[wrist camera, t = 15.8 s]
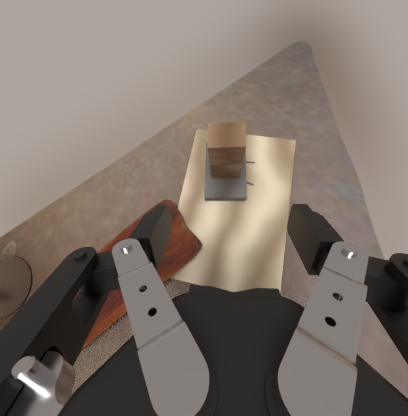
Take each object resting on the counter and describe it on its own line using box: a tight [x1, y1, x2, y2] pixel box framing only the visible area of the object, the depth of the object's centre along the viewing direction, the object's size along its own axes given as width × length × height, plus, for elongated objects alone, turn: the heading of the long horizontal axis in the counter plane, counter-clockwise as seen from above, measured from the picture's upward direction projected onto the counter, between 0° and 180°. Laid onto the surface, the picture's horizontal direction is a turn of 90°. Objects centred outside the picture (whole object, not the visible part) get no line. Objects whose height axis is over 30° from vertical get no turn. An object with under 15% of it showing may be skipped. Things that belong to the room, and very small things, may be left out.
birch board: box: [170, 129, 296, 292], centre depth 28 cm, size 16×24×2 cm, turn 169°
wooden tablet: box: [73, 200, 202, 350], centre depth 26 cm, size 27×10×2 cm, turn 128°
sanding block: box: [204, 122, 247, 201], centre depth 24 cm, size 6×9×10 cm, turn 178°
